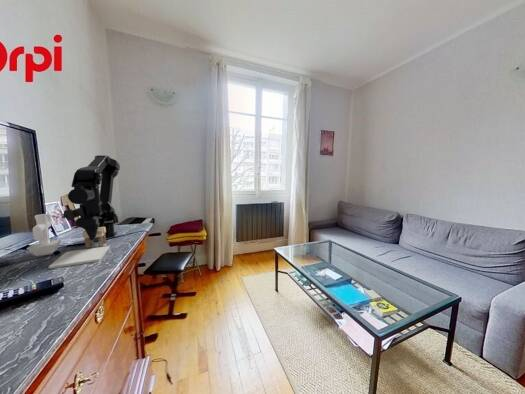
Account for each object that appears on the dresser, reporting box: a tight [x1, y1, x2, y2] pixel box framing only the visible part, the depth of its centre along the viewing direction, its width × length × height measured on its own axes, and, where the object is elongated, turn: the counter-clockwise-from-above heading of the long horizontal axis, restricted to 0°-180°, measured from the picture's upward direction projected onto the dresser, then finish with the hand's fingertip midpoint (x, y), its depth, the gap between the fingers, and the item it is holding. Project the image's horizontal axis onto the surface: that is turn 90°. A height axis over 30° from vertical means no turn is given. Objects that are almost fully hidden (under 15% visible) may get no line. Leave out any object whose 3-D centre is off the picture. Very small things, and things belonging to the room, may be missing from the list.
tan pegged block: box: [82, 227, 107, 249], centre depth 84 cm, size 6×6×7 cm
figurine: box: [26, 213, 62, 257], centre depth 76 cm, size 7×9×15 cm
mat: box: [48, 245, 110, 270], centre depth 73 cm, size 13×13×1 cm
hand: (95, 237), depth 84 cm, fingers open, 7 cm apart
